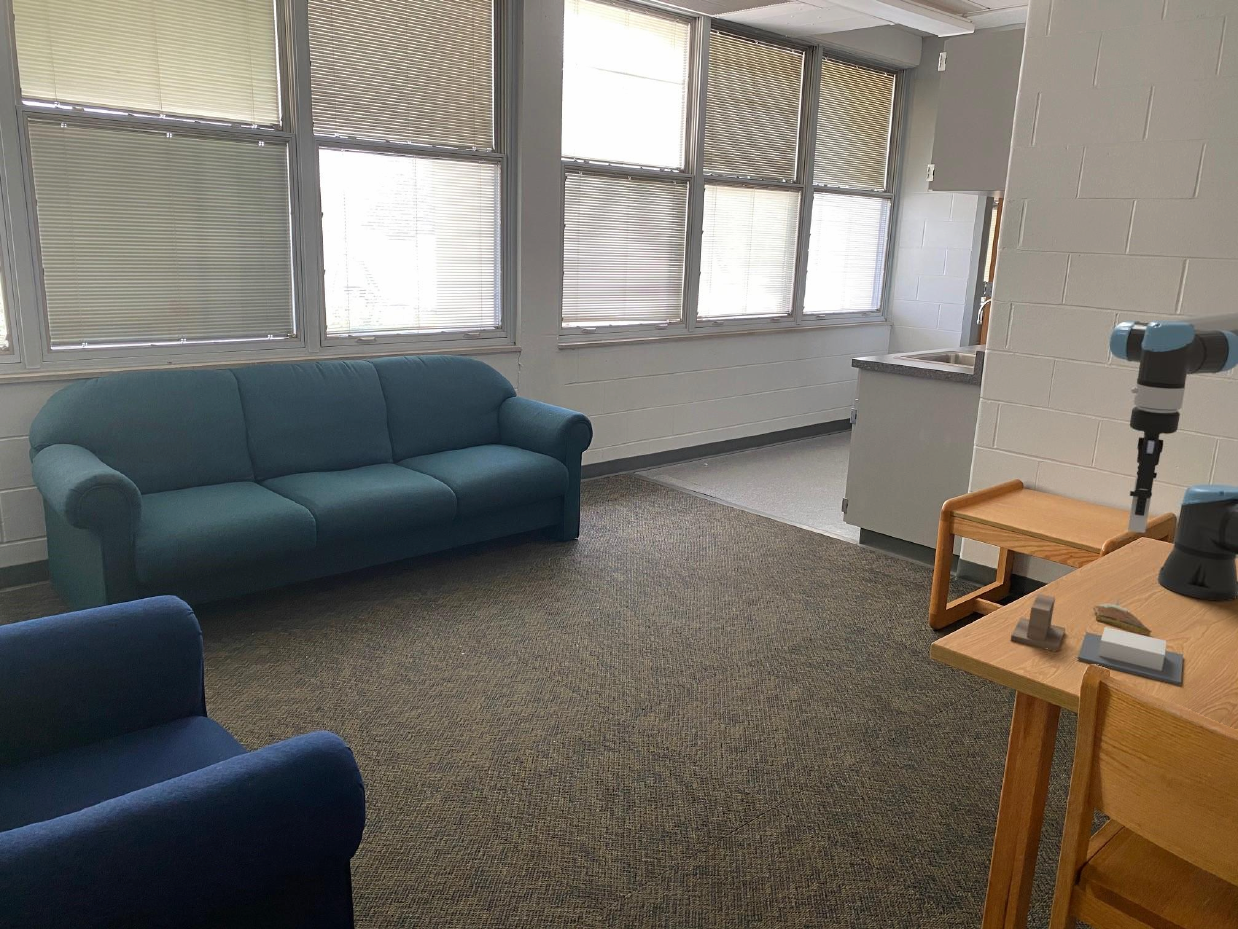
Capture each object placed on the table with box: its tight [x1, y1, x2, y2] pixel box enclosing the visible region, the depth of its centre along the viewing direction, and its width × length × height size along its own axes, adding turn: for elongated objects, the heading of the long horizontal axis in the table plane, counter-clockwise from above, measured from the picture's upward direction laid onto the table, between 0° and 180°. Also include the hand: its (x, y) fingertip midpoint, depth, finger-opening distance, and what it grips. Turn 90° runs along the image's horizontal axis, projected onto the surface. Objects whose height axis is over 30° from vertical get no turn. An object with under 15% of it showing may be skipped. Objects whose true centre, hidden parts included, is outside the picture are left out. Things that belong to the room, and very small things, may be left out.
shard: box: [1092, 605, 1152, 637], centre depth 183 cm, size 11×8×2 cm
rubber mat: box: [1077, 631, 1184, 686], centre depth 168 cm, size 16×13×1 cm
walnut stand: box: [1010, 593, 1066, 652], centre depth 175 cm, size 10×8×7 cm
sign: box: [1099, 597, 1129, 612], centre depth 193 cm, size 5×1×15 cm
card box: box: [1098, 626, 1167, 671], centre depth 167 cm, size 10×7×3 cm
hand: (1137, 521), depth 172 cm, fingers open, 13 cm apart
